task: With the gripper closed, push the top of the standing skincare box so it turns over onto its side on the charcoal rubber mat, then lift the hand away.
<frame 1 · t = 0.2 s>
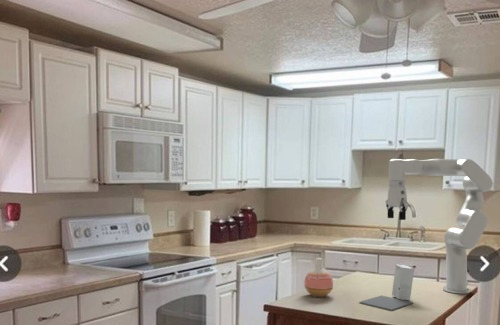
hand: (396, 218, 231), 36 cm above the counter, tool pointing down, fingers open, 9 cm apart
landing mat: (386, 303, 210), on the counter
vase: (318, 296, 222), on the counter
skincare box: (401, 298, 218), on the counter, touching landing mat
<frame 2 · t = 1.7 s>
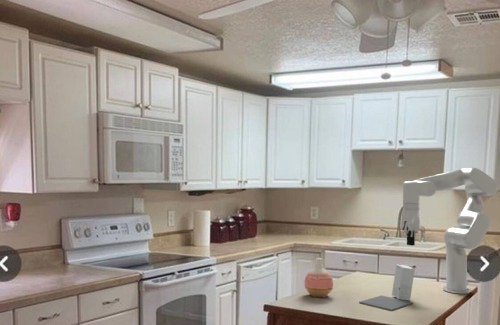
hand: (410, 245, 225), 24 cm above the counter, tool pointing down, fingers closed
nothing on the counter moved.
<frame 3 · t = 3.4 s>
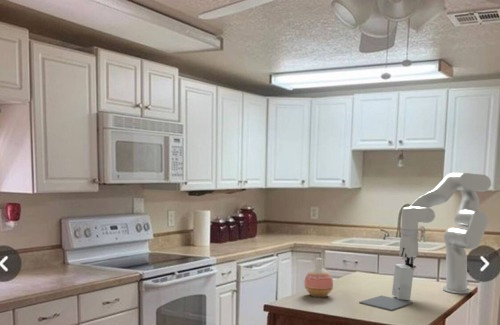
hand: (409, 271, 224), 12 cm above the counter, tool pointing down, fingers closed
skincare box: (401, 298, 218), on the counter, touching gripper, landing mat
everything else where it was.
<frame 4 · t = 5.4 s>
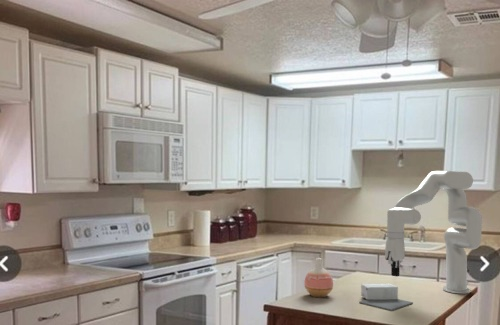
hand: (395, 275, 215), 11 cm above the counter, tool pointing down, fingers closed
skincare box: (395, 291, 218), point 4 cm above the counter, touching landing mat
everything else where it was.
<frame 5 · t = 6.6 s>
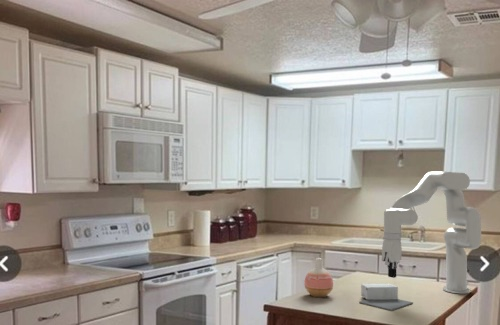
hand: (392, 276, 213), 11 cm above the counter, tool pointing down, fingers closed
nothing on the counter moved.
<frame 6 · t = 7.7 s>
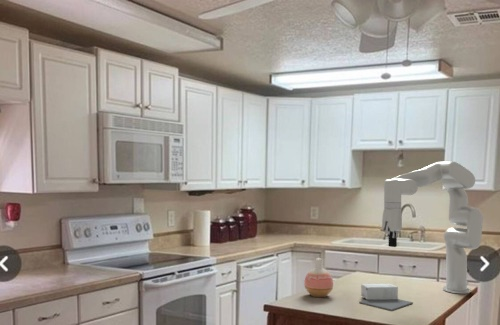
hand: (392, 246, 214), 25 cm above the counter, tool pointing down, fingers closed
nothing on the counter moved.
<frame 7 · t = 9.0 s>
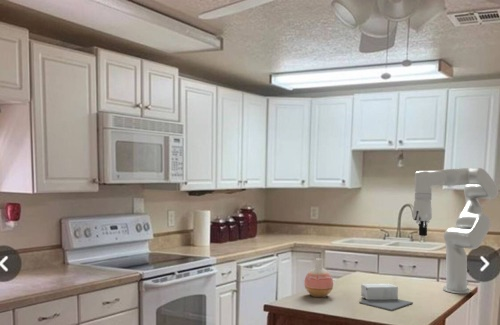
hand: (423, 235, 223), 29 cm above the counter, tool pointing down, fingers closed
nothing on the counter moved.
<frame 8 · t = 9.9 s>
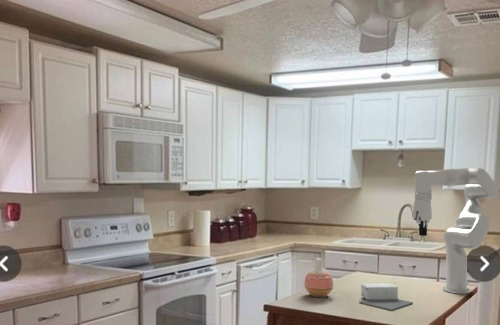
hand: (423, 235, 223), 29 cm above the counter, tool pointing down, fingers closed
nothing on the counter moved.
at the end: skincare box tilted 91°; skincare box inside the target area (5.9 cm from its centre), point 3.6 cm above the counter; skincare box touching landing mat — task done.
